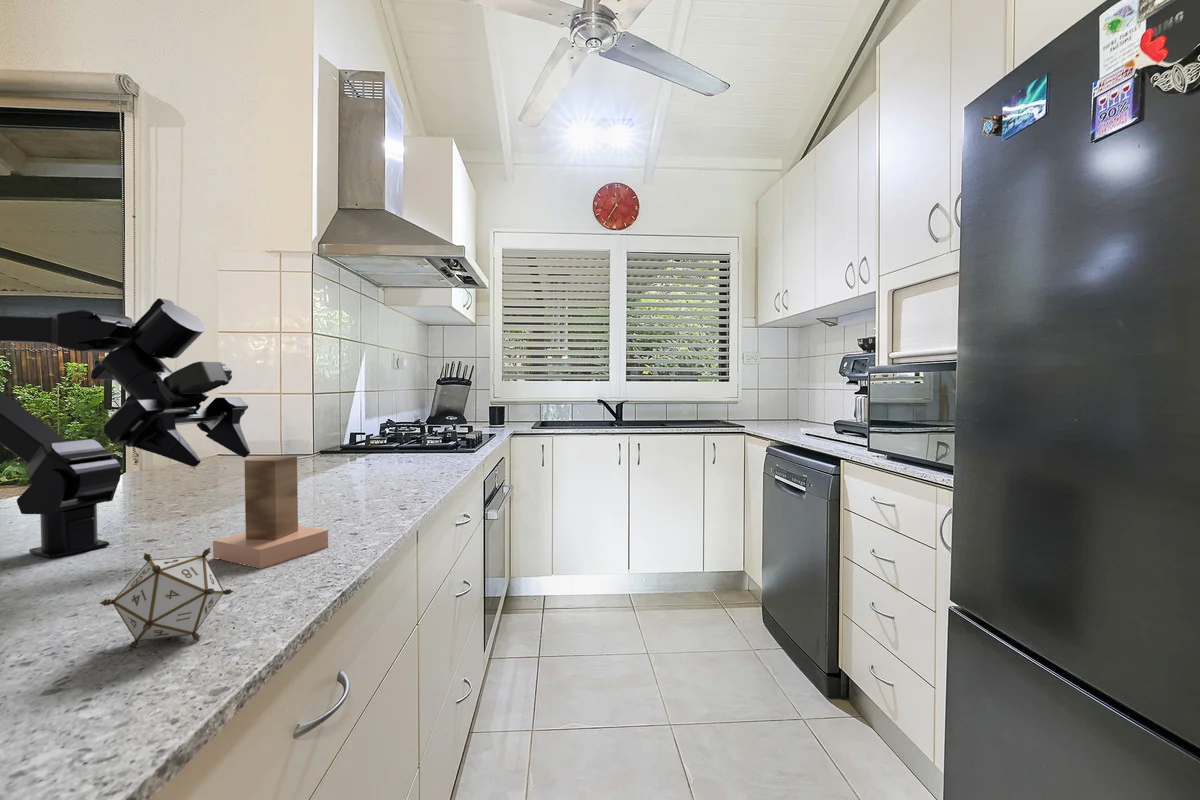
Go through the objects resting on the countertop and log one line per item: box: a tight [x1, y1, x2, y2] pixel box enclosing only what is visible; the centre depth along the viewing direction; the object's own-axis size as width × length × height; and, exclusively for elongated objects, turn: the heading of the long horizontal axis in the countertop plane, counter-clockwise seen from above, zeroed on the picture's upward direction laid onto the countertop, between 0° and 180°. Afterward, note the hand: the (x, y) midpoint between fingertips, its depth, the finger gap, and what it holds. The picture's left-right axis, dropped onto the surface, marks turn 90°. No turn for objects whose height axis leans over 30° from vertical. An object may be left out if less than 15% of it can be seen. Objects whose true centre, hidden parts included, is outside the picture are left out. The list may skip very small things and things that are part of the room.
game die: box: [98, 547, 235, 652], centre depth 49 cm, size 9×8×10 cm
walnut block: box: [244, 455, 299, 540], centre depth 74 cm, size 4×4×11 cm
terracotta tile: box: [212, 525, 329, 570], centre depth 74 cm, size 10×10×2 cm
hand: (224, 459), depth 74 cm, fingers open, 9 cm apart
